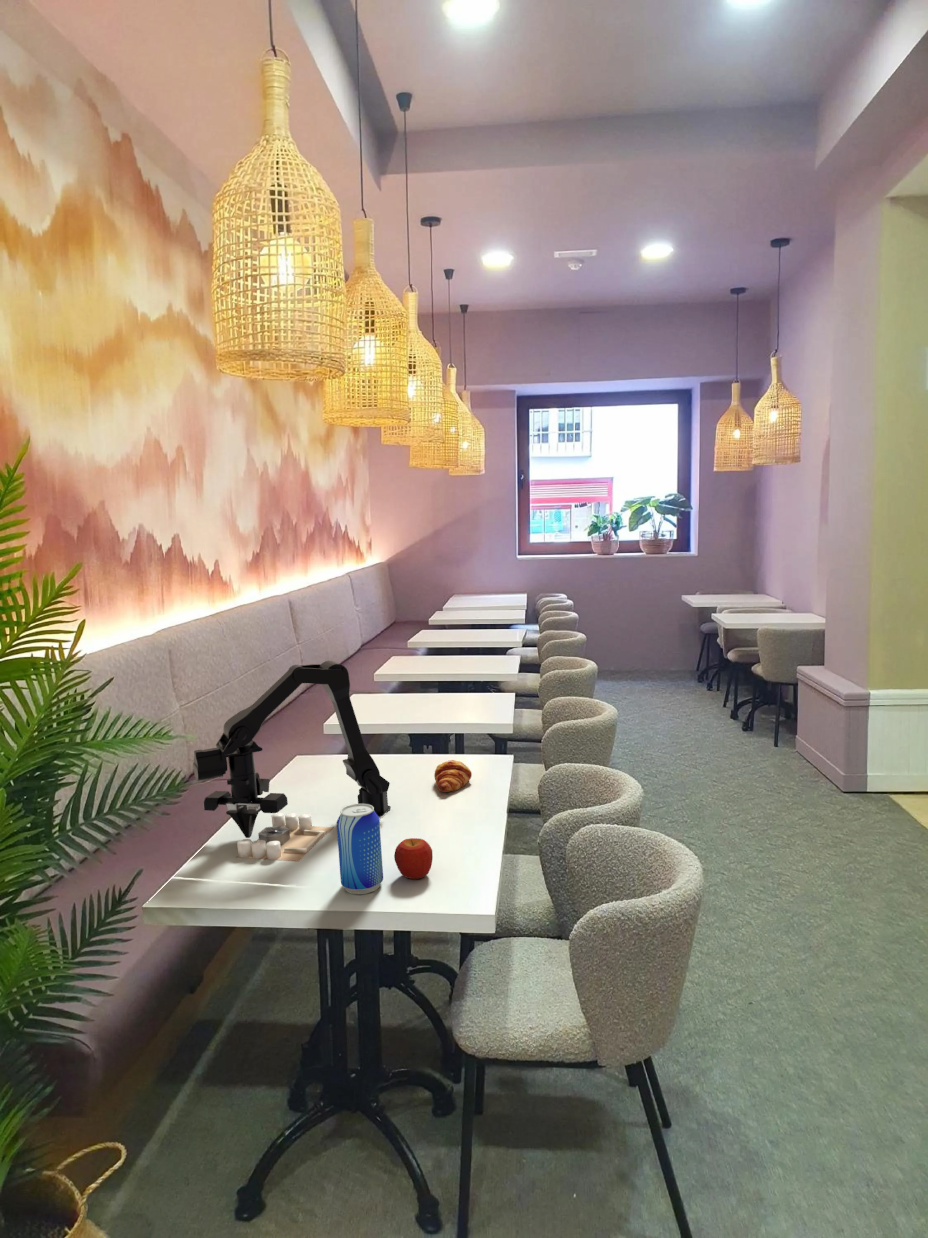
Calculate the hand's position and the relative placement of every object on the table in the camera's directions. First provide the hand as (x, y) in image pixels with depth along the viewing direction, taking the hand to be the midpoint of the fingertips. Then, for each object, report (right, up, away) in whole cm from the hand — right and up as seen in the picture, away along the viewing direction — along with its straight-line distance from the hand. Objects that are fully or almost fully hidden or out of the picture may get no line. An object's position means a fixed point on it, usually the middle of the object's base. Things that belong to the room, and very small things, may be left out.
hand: (248, 837), depth 190 cm
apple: (+40, -2, -22) cm, 46 cm away
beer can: (+30, -3, -26) cm, 40 cm away
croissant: (+47, +5, +34) cm, 58 cm away
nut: (+6, 0, -2) cm, 7 cm away
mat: (+9, -1, -2) cm, 10 cm away
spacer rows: (+7, 0, -2) cm, 7 cm away
